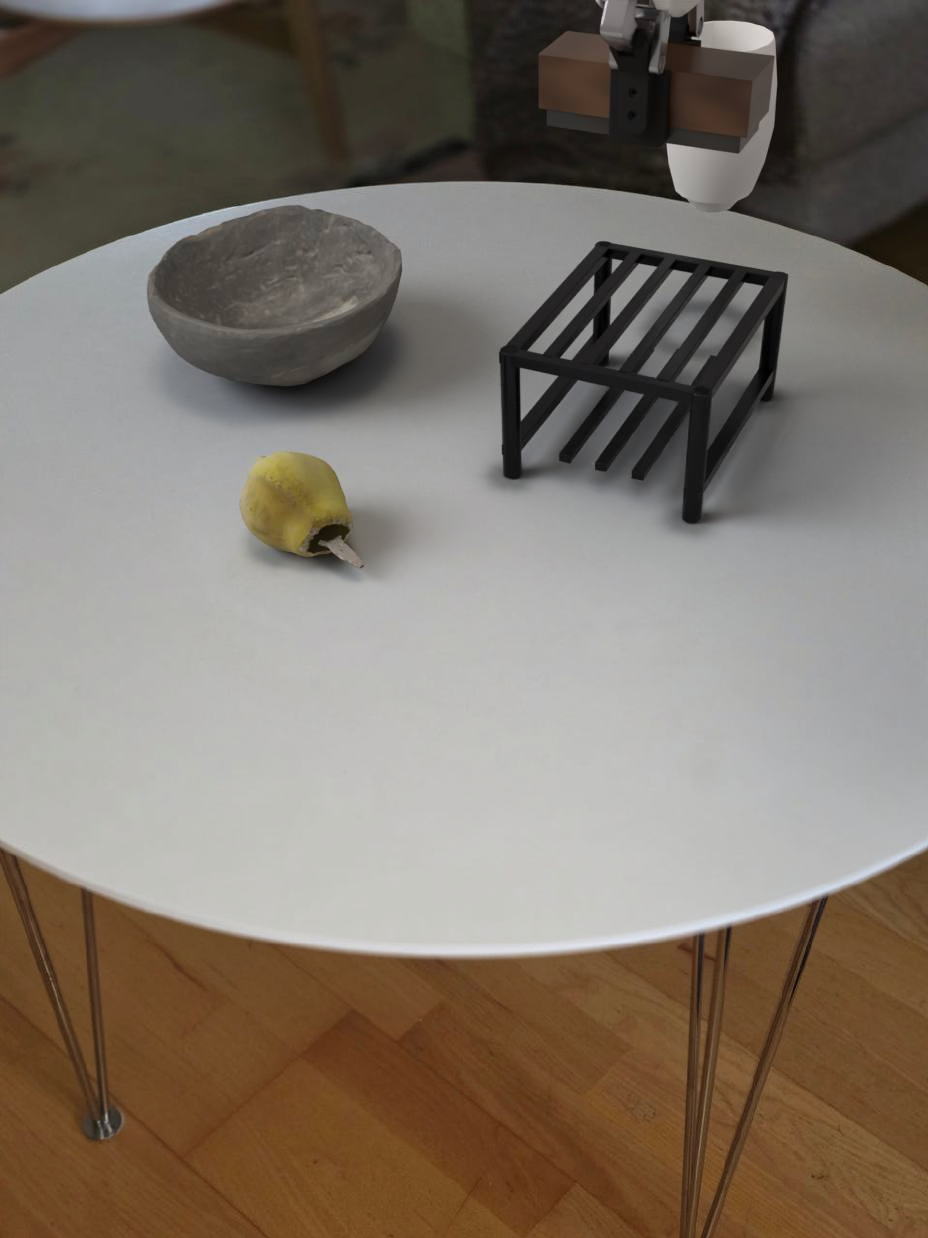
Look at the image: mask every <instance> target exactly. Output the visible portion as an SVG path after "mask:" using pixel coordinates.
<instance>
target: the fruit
mask: <svg viewBox="0 0 928 1238" xmlns="http://www.w3.org/2000/svg"><path fill="white" fill-rule="evenodd" d="M239 510H240V516H241V519H242V521H243V524H244V526H245V527H246V528H247V530H248V531H249V532H250V533H251V534H252V535H253V536H254V537H256V539H258V540H259V541H261V542H262V544H265V545H267V546H269V547H271V548H272V549H275V550H278V551H283V552H288V553H294V554H296V555H298V556H300V557H305V558H307V557H308V558H310V557H314V556H318V555H327V554H331V553H333V554H334V555H335V556H336V557H338V558H339V559H340V560H341V561H344V562H347V563H349V564H350V565H351V566H354V567H356V568H358V569H362V568H364V566H365V564H364V562H363V561H362V560H361V559H360V557H359V556H358V554H357V553H356V552H355V551H354V550H353V549H352V548H351V547H350V546H349V544H347V543H345V541H347V539H348V538H349V536H350V535H351V534H352V533H353V530H354V518H353V515H352V512H351V511H350V509H349V506H348V503H347V500H346V495H345V493H344V490H343V488H342V485H341V482H340V479H339V477H338V475H337V473H336V471H335V470H334V468H332V466H331V465H330V464H329V463H328V462H327V461H325V460H324V459H321V458H320V457H317V456H315V455H311V454H308V453H303V452H299V451H286V450H284V451H283V450H282V451H278V452H274V453H271V454H269V455H267V456H265V455H262V456H261V455H260V456H258V457H256V458H255V460H254V462H253V464H252V465H251V466H250V469H249V471H248V473H247V476H246V480H245V483H244V485H243V487H242V490H241V493H240V498H239Z"/></svg>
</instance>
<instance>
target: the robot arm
mask: <svg viewBox="0 0 928 1238" xmlns="http://www.w3.org/2000/svg"><path fill="white" fill-rule="evenodd" d="M595 2H596V4H598V6H599V7H600V8H601V9H602V10H603V11H602V14H601V15H602V16H601V21H600V23H599V35H600V36H601V38H602V39H603V40H604V41H605V42H606V43H607V44H608V45H609V49H610V51H609V68H610V69H611V76H610V108H609V135H608V136H609V138H610V140H612V141H613V142H617V143H625V144H631V145H639V146H644V147H652V148H661V147H662V146H664V145H665V144H666V143H665V142H666V141H667V138H668V121H669V104H670V87H671V70H668V69H664V67H665V62H666V53H667V45H668V43H673V44H681V45H689V46H698V47H701V40H694V39H691V37H694V38H699V37H700V36H701V34H702V31H703V25H704V22H705V0H648V3H649V4H640V3H638V0H595ZM636 20H638V21H648V22H649V31H650V33H651V34H650V33H648V31H647V29H646V28H641V27H639V26H638V22H637V21H636Z"/></svg>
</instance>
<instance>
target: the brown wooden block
mask: <svg viewBox="0 0 928 1238" xmlns="http://www.w3.org/2000/svg"><path fill="white" fill-rule="evenodd" d="M609 51H610V49H609V45H608V44H607V43H606V42H605V41H604V40H603V39H602V38H601V36H600V34H597V33H587V32H579V31H571V30H567V31H565V32H563V34H561V35H560V36H559V37H557V39H555V40H554V41H553V42H551V44H549V45H548V46H547V47H545V48H544V49H543V50H542V51H540V52H539V53H538V109H540V110H546V126H547V127H553V128H560V129H567V130H572V131H573V130H574V131H581V132H587V133H588V132H589V133H595V134H600V135H608V136H609V108H610V76H611V69H610V68H609ZM774 58H775V56H773V55H765V54H756V53H748V52H740V51H731V50H723V49H715V48H706V47H698V46H689V45H681V44H673V43H668V45H667V53H666V62H665V67H664V69H668V70H671V87H670V104H669V121H668V138H667V141H666V142H665V143H664V144H667V143H668V144H675V145H682V146H689V147H696V148H702V149H709V150H716V151H723V152H730V153H736V154H739V153H740V152H741V150H742V149H743V148H744V147H745V145H746V144H747V143H748V142H749V141H750V139H751V138H752V137H753V136H754V134H755V133H756V132H757V131H758V129H759V122H760V121H761V120H762V119H763V118H764V116H765V115H766V114H767V113H768V111H769V105H770V95H771V86H772V77H773V67H774Z"/></svg>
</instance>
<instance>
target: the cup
mask: <svg viewBox="0 0 928 1238" xmlns="http://www.w3.org/2000/svg"><path fill="white" fill-rule="evenodd" d="M691 39H694V40H701V47H706V48H715V49H723V50H731V51H740V52H748V53H756V54H765V55H773V56H775V58H774V67H773V77H772V86H771V95H770V105H769V111H768V113H767V114H766V115H765V116H764V118H763V119H762V120H761V121H760V122H759V129H758V131H757V132H756V133H755V134H754V136H753V137H752V138H751V139H750V141H749V142H748V143H747V144H746V145H745V147H744V148H743V149H742V150H741V152H740V153H739V154H736V153H730V152H723V151H716V150H709V149H702V148H696V147H689V146H682V145H675V144H668V143H666V150H667V161H668V162H667V163H668V167H669V171H670V175H671V178H672V182H673V186H674V190H675V192H676V193H677V194H678V195H680V196H681V197H682V198H685V199H686V200H687V201H688V202H689V203H690V205H691V206H692V207H693V208H694V209H696V210H698V211H700V212H704V213H722V212H726V211H728V210H730V209H731V208H732V207H733V206H734V205H735V204H736V203H737V202H738V201H741V200H742V199H746V198H747V197H749V196H750V194H751V193H752V192H753V190H754V188H755V186H756V183H757V181H758V179H759V177H760V175H761V171H762V170H763V168H764V165H765V163H766V158H767V154H768V150H769V147H770V143H771V139H772V136H773V132H774V128H775V120H776V105H777V91H778V90H777V89H778V73H777V72H778V71H777V70H778V69H777V50H776V49H777V48H776V46H777V45H776V37H775V34H774V32H773V31H772V30H770V29H768V28H766V27H765V26H763V25H759V24H755V23H752V22H747V21H739V20H738V21H737V20H711V21H704V25H703V31H702V34H701V36H700V37H699V38H694V37H691Z"/></svg>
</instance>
